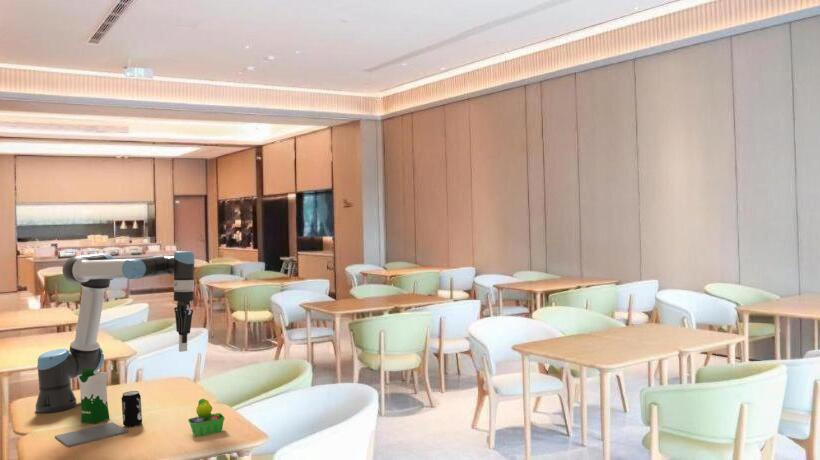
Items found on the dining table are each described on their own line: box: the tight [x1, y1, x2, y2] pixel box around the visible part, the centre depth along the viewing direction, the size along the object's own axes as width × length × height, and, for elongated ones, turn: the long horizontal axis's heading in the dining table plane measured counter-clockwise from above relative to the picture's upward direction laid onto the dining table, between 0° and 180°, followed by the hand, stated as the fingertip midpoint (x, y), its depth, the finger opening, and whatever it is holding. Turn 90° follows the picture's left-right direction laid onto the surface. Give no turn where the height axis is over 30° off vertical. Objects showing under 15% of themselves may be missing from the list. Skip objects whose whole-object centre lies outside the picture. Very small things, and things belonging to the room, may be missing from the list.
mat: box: [54, 421, 129, 448], centre depth 244 cm, size 16×20×1 cm
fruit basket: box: [187, 398, 226, 437], centre depth 240 cm, size 11×9×11 cm
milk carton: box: [76, 369, 111, 425], centre depth 262 cm, size 9×9×20 cm
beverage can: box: [121, 390, 143, 428], centre depth 253 cm, size 7×7×12 cm
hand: (183, 351), depth 267 cm, fingers closed
